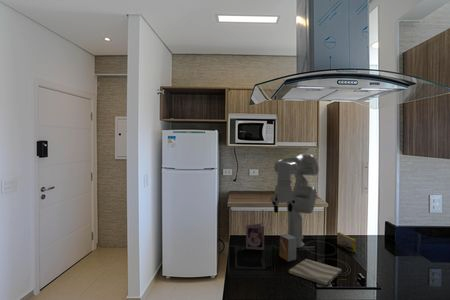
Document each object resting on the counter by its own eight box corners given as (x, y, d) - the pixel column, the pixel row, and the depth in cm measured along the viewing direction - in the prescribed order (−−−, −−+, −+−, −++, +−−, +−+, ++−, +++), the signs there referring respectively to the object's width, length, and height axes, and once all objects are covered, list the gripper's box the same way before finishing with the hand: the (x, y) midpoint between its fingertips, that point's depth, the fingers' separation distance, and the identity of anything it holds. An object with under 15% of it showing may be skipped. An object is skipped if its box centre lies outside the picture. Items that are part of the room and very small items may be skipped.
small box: (279, 256, 171) (279, 235, 171) (287, 255, 174) (287, 233, 174) (287, 261, 164) (288, 239, 164) (296, 259, 167) (296, 237, 167)
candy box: (336, 244, 194) (337, 232, 194) (339, 244, 195) (339, 232, 195) (353, 253, 179) (353, 240, 179) (356, 253, 179) (356, 239, 179)
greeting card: (245, 249, 183) (246, 225, 182) (246, 245, 190) (246, 222, 190) (264, 250, 181) (264, 226, 181) (263, 246, 188) (264, 223, 188)
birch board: (305, 261, 165) (305, 258, 165) (341, 272, 152) (341, 269, 152) (288, 272, 150) (288, 270, 150) (326, 285, 136) (326, 282, 136)
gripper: (292, 182, 177) (291, 209, 177) (267, 182, 170) (267, 211, 170) (299, 183, 170) (299, 212, 170) (274, 184, 163) (273, 214, 163)
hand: (283, 211), depth 170 cm, fingers open, 9 cm apart
